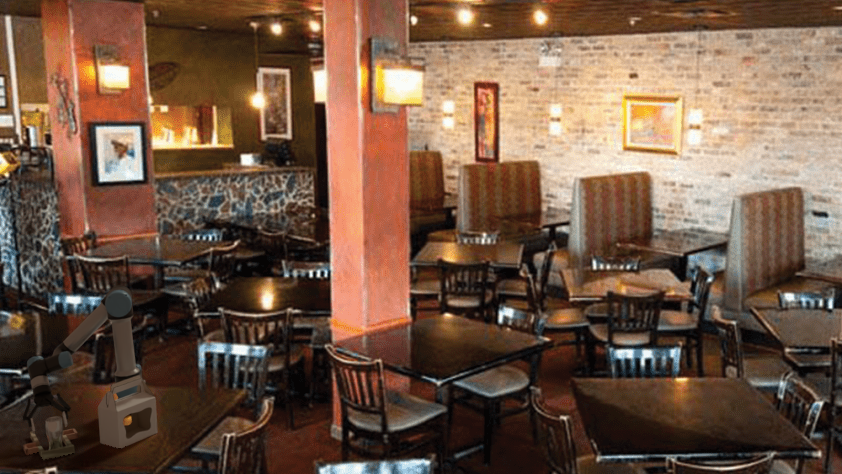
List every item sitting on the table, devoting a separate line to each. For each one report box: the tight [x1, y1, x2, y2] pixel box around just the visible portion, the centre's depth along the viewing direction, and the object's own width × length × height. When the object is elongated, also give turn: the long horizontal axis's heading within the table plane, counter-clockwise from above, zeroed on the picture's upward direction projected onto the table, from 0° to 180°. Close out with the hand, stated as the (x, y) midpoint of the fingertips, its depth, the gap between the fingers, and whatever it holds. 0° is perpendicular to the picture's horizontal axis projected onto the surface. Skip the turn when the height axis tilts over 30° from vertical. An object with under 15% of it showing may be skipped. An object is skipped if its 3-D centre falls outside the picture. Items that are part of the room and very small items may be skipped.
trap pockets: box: [22, 427, 79, 456], centre depth 378 cm, size 14×23×2 cm, turn 124°
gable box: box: [97, 375, 158, 449], centre depth 382 cm, size 22×13×28 cm, turn 149°
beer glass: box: [45, 416, 64, 450], centre depth 369 cm, size 7×7×15 cm
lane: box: [29, 431, 76, 461], centre depth 376 cm, size 31×13×4 cm, turn 34°
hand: (50, 429), depth 377 cm, fingers open, 13 cm apart
